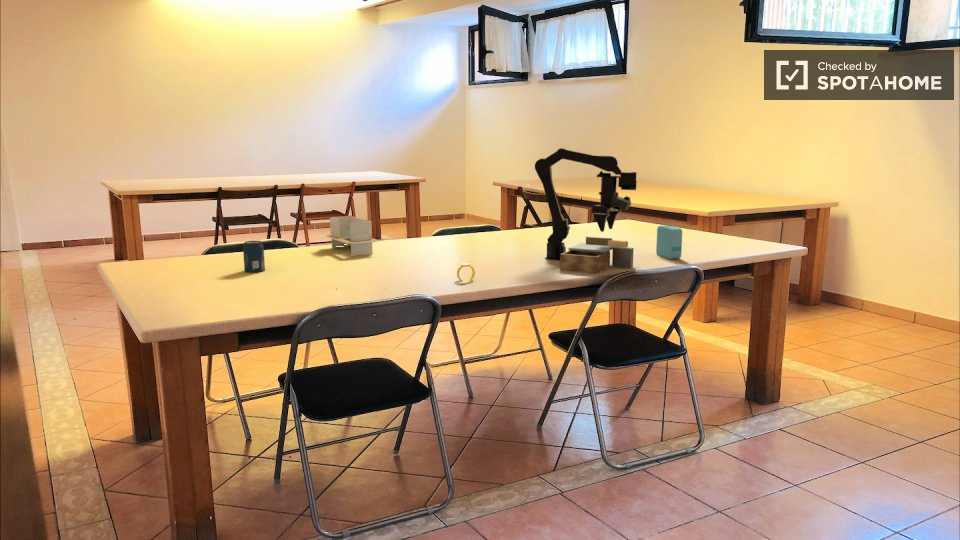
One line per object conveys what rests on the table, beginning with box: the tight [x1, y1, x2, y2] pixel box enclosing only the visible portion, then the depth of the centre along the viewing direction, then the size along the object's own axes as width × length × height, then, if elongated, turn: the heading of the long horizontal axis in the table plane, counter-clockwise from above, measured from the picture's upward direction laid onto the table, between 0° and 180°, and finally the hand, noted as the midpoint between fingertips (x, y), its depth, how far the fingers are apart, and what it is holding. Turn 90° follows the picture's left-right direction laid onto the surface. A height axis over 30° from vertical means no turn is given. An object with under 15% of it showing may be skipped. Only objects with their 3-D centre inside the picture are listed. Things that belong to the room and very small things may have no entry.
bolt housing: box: [611, 247, 635, 269], centre depth 267 cm, size 7×3×7 cm, turn 62°
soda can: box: [242, 240, 266, 274], centre depth 255 cm, size 7×7×12 cm
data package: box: [655, 225, 683, 260], centre depth 287 cm, size 12×4×12 cm, turn 15°
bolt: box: [608, 239, 629, 247], centre depth 267 cm, size 7×2×2 cm, turn 62°
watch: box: [456, 262, 476, 282], centre depth 243 cm, size 6×3×6 cm, turn 113°
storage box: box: [559, 249, 611, 275], centre depth 264 cm, size 14×14×6 cm
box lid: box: [568, 236, 614, 253], centre depth 270 cm, size 14×14×3 cm
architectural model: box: [325, 215, 378, 257], centre depth 298 cm, size 26×13×15 cm, turn 32°
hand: (606, 230), depth 278 cm, fingers open, 9 cm apart
